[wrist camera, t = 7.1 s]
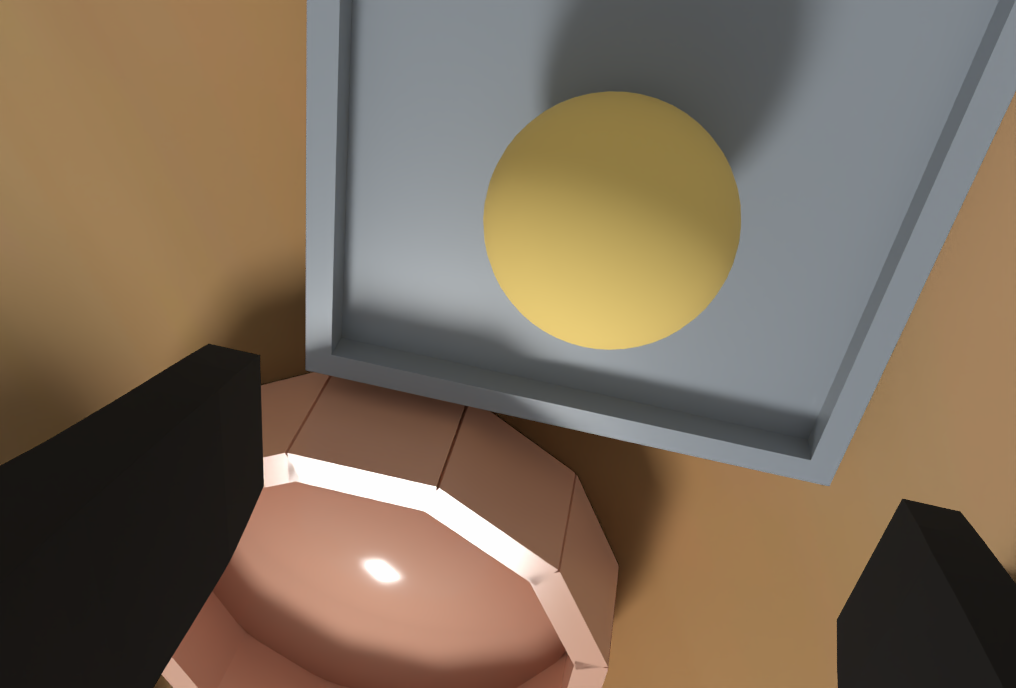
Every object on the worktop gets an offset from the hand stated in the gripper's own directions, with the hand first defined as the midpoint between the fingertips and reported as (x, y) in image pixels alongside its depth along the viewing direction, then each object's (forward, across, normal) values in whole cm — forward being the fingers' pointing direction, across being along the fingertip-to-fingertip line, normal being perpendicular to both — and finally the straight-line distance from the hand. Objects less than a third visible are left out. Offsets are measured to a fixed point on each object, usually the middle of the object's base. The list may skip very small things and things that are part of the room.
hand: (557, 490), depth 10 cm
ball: (+9, 0, 0) cm, 9 cm away
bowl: (+9, +4, +13) cm, 16 cm away
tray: (+9, 0, 0) cm, 9 cm away
